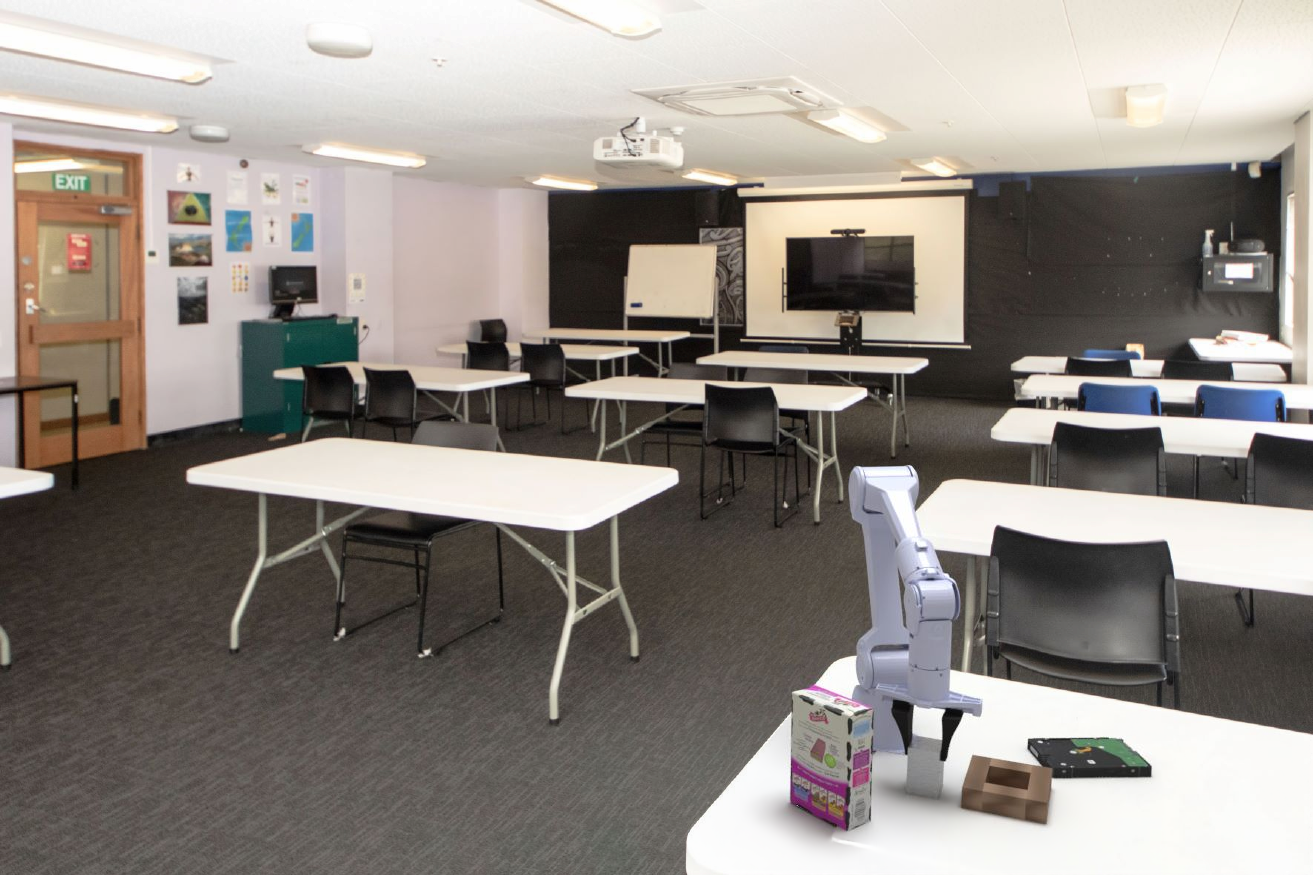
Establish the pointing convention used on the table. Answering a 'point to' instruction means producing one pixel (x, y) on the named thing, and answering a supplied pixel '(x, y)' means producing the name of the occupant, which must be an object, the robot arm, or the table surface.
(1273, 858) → the table surface
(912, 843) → the table surface
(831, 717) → the candy bar box
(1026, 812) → the pocket block
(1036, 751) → the disk drive
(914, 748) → the steel block
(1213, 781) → the table surface
